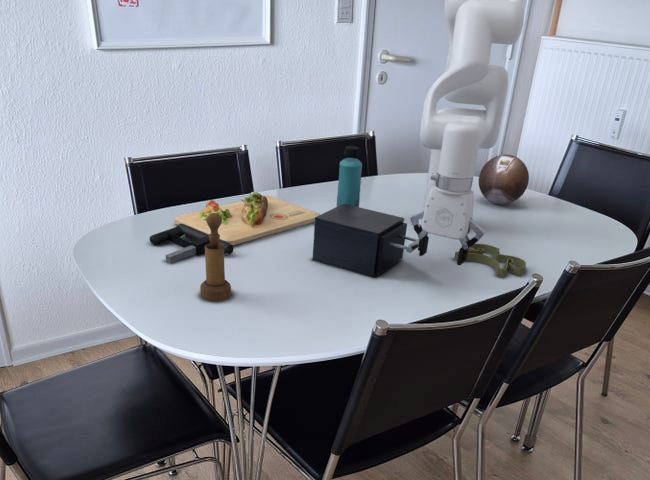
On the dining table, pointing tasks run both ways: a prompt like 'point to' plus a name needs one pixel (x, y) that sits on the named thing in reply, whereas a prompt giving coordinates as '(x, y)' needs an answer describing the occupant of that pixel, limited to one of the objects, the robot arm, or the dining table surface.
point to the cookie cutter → (477, 256)
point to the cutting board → (250, 218)
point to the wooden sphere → (503, 179)
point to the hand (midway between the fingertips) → (441, 258)
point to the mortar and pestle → (215, 265)
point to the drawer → (393, 247)
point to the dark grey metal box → (351, 237)
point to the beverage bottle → (349, 178)
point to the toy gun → (186, 242)
